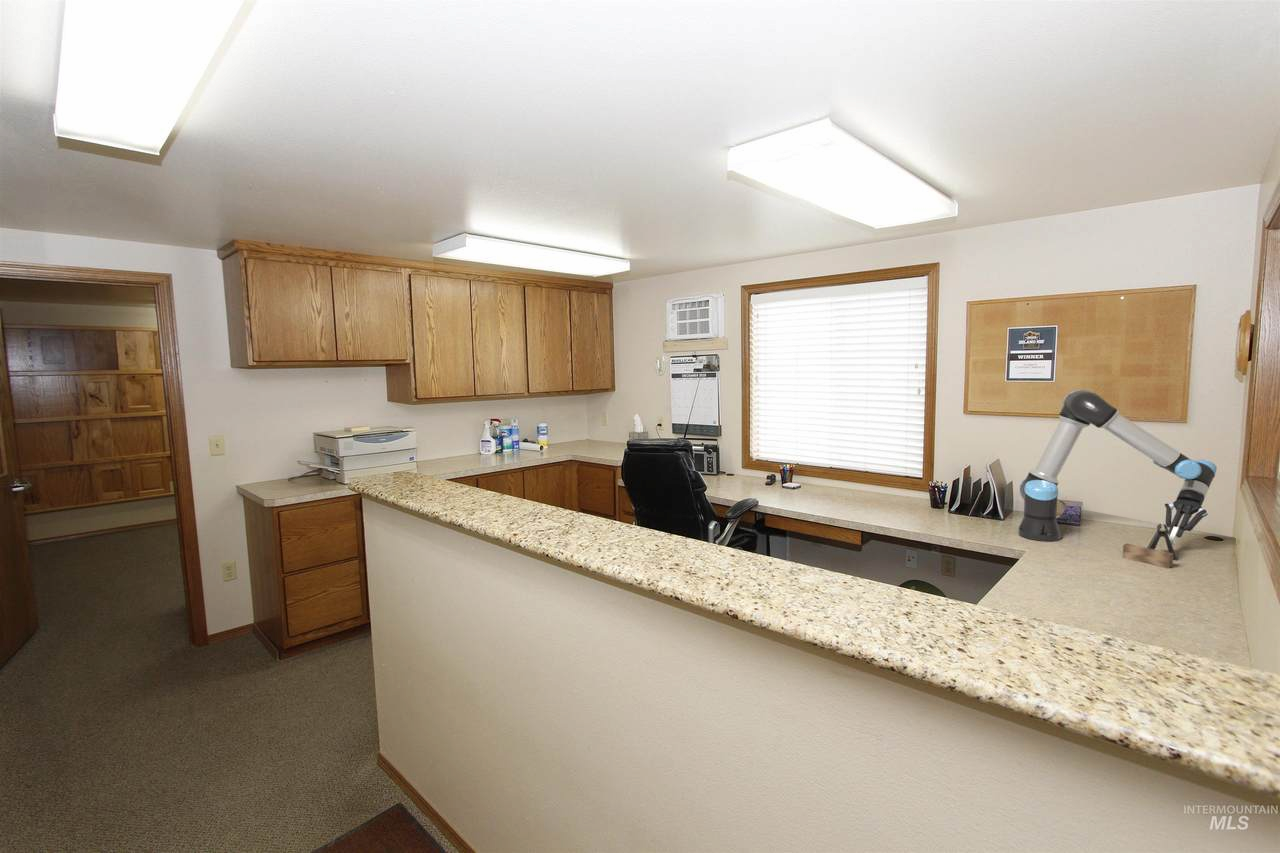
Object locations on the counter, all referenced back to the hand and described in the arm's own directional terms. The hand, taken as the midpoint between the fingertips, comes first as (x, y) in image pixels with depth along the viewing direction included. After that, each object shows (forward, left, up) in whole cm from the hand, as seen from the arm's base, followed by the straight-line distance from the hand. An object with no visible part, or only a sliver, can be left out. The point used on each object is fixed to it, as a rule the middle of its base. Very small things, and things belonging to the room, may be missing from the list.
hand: (1171, 542), depth 227 cm
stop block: (0, -19, -4) cm, 20 cm away
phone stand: (0, -8, -4) cm, 9 cm away
